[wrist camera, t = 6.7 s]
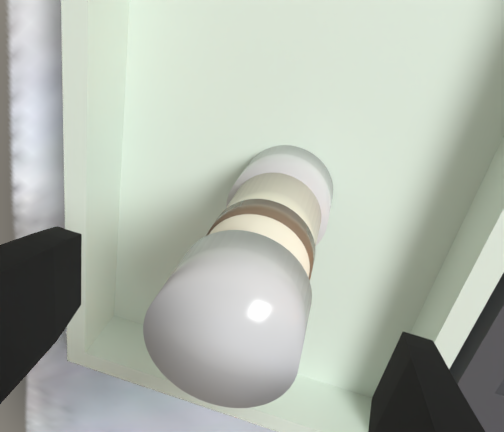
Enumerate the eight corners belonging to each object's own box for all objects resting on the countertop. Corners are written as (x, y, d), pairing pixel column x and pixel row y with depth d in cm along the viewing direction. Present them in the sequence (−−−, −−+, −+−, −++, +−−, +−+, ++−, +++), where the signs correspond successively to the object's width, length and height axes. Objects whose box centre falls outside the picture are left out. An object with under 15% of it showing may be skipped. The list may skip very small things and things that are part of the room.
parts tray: (390, 407, 20) (392, 470, 18) (104, 315, 22) (67, 360, 19) (679, -172, 10) (780, -221, 8) (124, -261, 12) (55, -328, 9)
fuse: (320, 240, 17) (280, 427, 10) (235, 216, 17) (139, 379, 10) (344, 158, 15) (317, 310, 8) (250, 135, 15) (148, 260, 9)
